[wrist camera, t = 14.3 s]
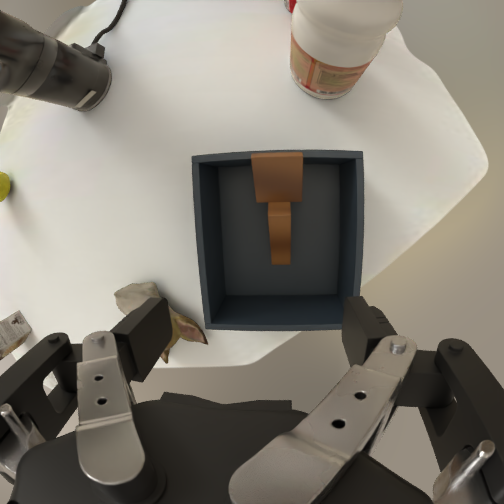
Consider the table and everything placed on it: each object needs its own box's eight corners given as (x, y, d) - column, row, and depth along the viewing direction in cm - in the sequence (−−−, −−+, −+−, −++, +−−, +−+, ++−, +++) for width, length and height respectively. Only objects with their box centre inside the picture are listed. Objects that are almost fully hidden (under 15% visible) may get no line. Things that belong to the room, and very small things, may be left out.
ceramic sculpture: (132, 279, 33) (203, 365, 36) (158, 258, 41) (215, 332, 44) (89, 312, 35) (152, 386, 38) (116, 289, 43) (169, 354, 46)
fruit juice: (276, 73, 33) (258, -80, 6) (315, 35, 31) (341, -107, 3) (329, 113, 34) (412, -9, 6) (366, 72, 31) (459, -44, 4)
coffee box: (24, 343, 52) (-12, 371, 37) (12, 324, 51) (-26, 349, 36) (32, 329, 50) (-9, 358, 34) (18, 308, 49) (-24, 334, 34)
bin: (214, 162, 37) (191, 156, 27) (342, 159, 35) (362, 151, 25) (222, 297, 41) (205, 329, 32) (340, 296, 39) (355, 329, 30)
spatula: (251, 153, 26) (249, 169, 24) (302, 151, 26) (304, 168, 24) (262, 248, 38) (261, 265, 36) (299, 247, 37) (300, 264, 36)
